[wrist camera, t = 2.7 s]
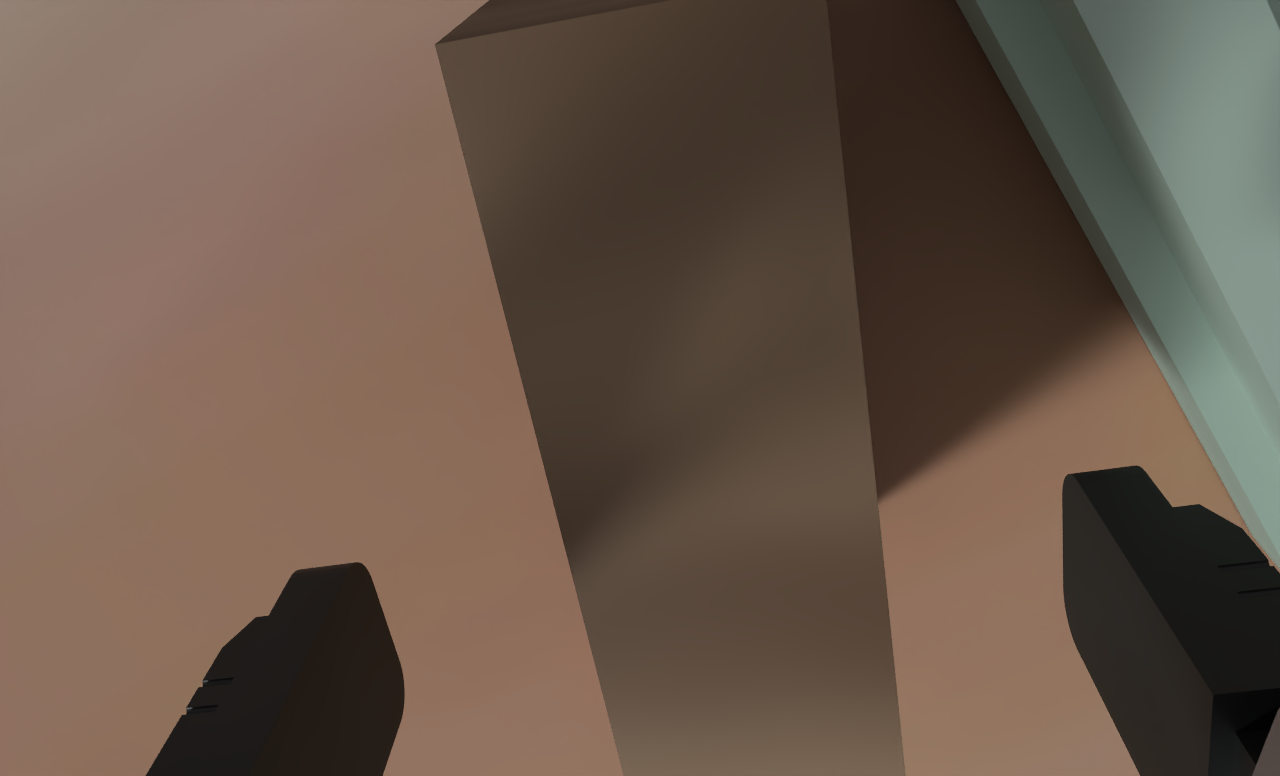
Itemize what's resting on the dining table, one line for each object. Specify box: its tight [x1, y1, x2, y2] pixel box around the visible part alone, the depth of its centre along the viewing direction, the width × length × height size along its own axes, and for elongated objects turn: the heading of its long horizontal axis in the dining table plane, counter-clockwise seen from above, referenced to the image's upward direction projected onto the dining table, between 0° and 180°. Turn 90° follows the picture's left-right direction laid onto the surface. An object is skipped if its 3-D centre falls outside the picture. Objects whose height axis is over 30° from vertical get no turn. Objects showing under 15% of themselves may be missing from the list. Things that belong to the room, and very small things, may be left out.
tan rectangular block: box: [435, 0, 905, 776], centre depth 16 cm, size 12×4×9 cm, turn 10°
